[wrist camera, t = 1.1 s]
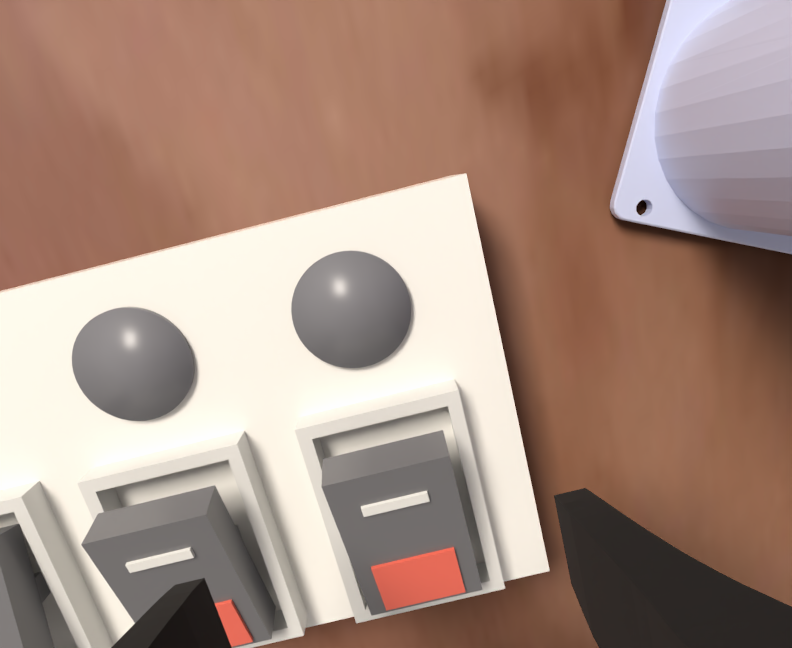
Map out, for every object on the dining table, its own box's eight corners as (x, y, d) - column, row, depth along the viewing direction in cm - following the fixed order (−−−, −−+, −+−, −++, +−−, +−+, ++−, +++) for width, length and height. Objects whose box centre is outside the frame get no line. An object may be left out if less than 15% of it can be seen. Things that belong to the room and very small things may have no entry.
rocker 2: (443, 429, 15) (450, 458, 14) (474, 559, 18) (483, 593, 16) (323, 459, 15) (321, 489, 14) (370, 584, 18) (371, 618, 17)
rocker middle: (214, 485, 15) (205, 517, 14) (275, 606, 18) (271, 642, 17) (97, 513, 16) (79, 548, 15) (173, 630, 18) (162, 667, 17)
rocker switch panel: (452, 175, 18) (471, 172, 14) (526, 518, 21) (558, 590, 17) (-157, 331, 19) (-292, 368, 15) (2, 641, 22) (-76, 737, 18)
